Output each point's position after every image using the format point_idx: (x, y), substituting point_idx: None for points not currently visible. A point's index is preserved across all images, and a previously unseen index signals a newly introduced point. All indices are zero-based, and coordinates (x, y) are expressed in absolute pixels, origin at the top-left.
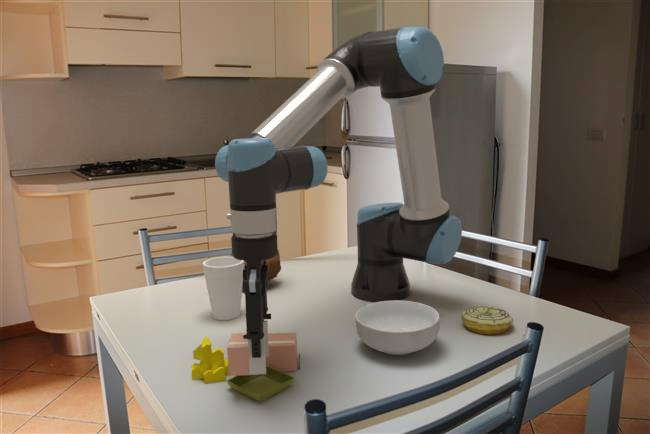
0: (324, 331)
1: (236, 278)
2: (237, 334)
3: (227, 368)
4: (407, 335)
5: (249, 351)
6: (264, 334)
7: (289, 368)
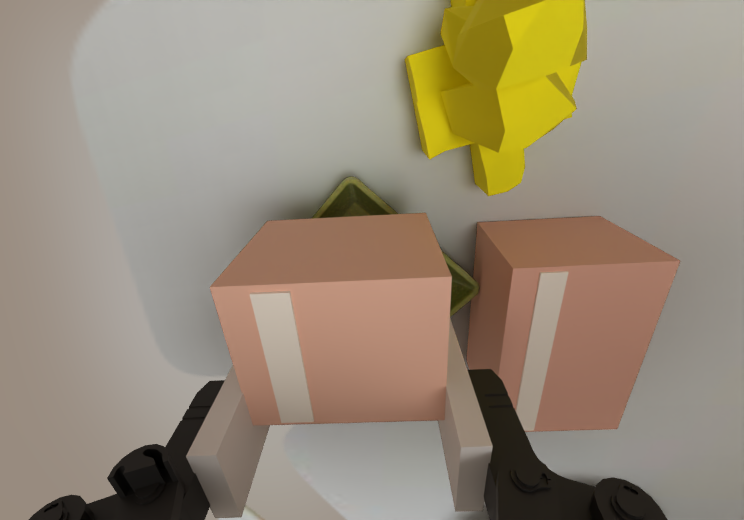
0: (735, 414)
1: None
2: (429, 314)
3: (476, 154)
4: None
5: (226, 384)
6: (441, 424)
7: (469, 349)
